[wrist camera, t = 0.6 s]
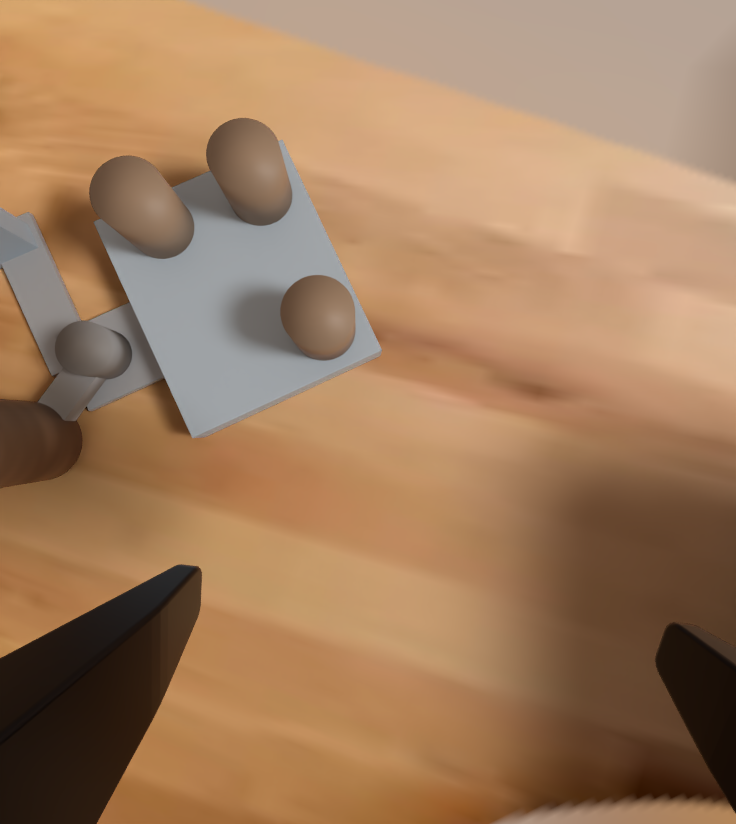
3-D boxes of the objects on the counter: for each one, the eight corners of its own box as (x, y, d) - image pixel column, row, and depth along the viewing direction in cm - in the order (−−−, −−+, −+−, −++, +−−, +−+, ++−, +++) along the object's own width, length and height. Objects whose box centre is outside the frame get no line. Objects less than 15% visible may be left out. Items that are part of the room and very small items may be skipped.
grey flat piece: (380, 356, 21) (386, 336, 17) (88, 491, 21) (11, 509, 16) (265, 114, 22) (241, 30, 17) (-25, 239, 21) (-132, 187, 16)
